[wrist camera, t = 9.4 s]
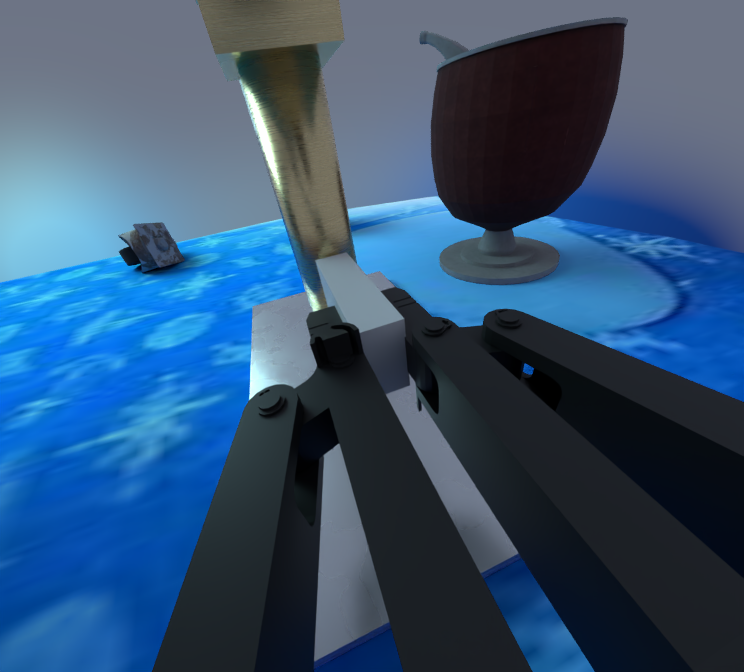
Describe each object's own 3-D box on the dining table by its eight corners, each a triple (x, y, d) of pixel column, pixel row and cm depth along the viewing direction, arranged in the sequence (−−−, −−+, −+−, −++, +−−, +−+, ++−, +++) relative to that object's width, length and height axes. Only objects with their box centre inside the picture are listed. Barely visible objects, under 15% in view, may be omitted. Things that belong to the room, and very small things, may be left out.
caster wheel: (157, 271, 55) (202, 256, 54) (108, 285, 45) (162, 266, 44) (136, 237, 53) (182, 220, 51) (79, 244, 42) (135, 222, 41)
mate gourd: (575, 243, 32) (655, -28, 20) (554, 299, 24) (668, -107, 12) (448, 235, 40) (452, 39, 29) (399, 274, 32) (376, 21, 20)
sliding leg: (392, 369, 18) (289, -408, 5) (308, 399, 17) (-57, -475, 4) (372, 336, 21) (277, -202, 9) (300, 359, 20) (75, -213, 8)
